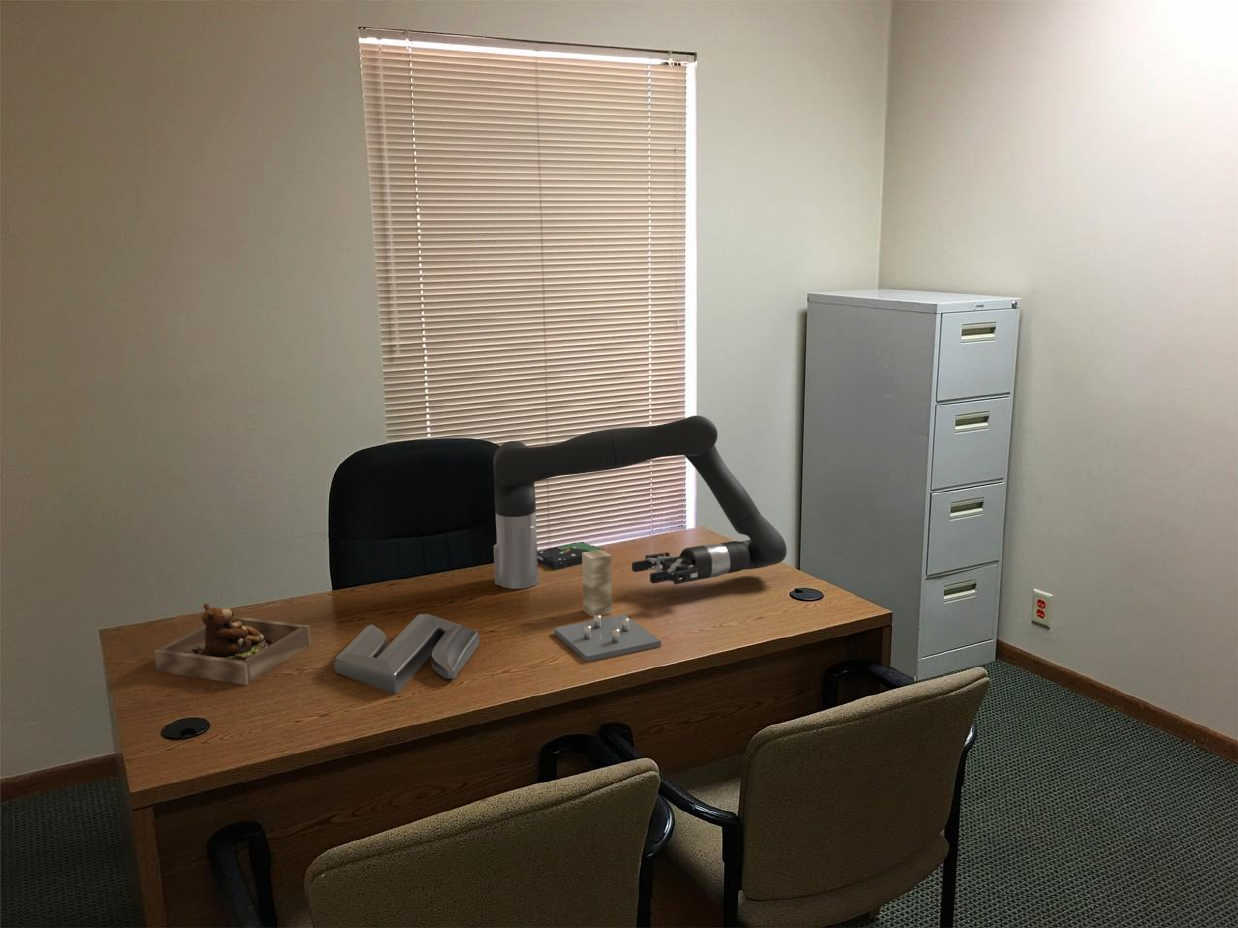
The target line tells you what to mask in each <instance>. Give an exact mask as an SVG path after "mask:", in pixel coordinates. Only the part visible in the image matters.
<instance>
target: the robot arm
mask: <svg viewBox="0 0 1238 928" xmlns="http://www.w3.org/2000/svg"><path fill="white" fill-rule="evenodd" d="M717 441H718V429H717V427H716V425H715V424H714V423H713V421H711V419H709V418H707V417H706V416H705V417H704V416H702V415H690V416H687V417H686V418H682V419H679V420H676V421H670V422H667V423H663V424H657V425H648V426H629V427H628V426H627V427H620V428H619V427H617V428H616V427H615V428H609V429H601V430H595V431H590V432H587V433H582V434H580V435H578V436H575V437H572V438H569V439H566V440H564V441H561V442H559V443H555V444H551V445H544V446H533V447H532V446H531V447H530V446H529V447H528V445H526V444H525V443H524V442H520V441H517V440H510V441H506V442H504V443H502V444H501V445H500V446H499V447H498V448H497V449H496V451H495V452H494V456H493V478H494V479H493V480H494V482H493V483H494V484H493V485H494V505H495V506H494V507H495V526H496V529H495V531H496V543H495V544H494V545H493V559H494V561H493V565H494V584H495V585H496V586H500V587H502V588H505V589H510V590H520V589H521V590H522V589H527V588H531V587H534V586H536V585H537V584H539V569H538V567H539V566H538V565H539V564H538V563H539V562H538V560H537V551H538V541H537V539H538V536H537V534H538V533H537V532H538V531H537V512H536V511H537V507H536V487H535V483H536V482H540V481H544V480H549V479H551V478H555V477H561V476H574V475H583V474H589V473H598V472H605V471H611V470H617V469H621V468H626V467H630V466H635V465H638V464H642V463H645V462H648V461H652V460H654V459H658V458H665V457H677V456H684V457H685V459H687V460H688V461H689V462H690V464H691V465H692V466H693V467H694V468H695V470H696V471H697V472H698V474H699V475H700V476H701V478H702V479H703V481H704V482H705V483H706V484H707V486H708V488H709V489H710V491H711V493H712V494H713V496H714V498H715V499H716V501H717V503H718V505H719V507H720V508H721V509H722V511H723V514H725V516H726V518H727V519H728V521H729V522H730V524H731V525H732V527H733V528H734V530H735V531H736V532H737V533H738V534H739V535H742V536H743V535H745V536H747V537H748V538H749V539H747V540H741V541H740V540H739V541H738V540H737V541H736V540H735V541H734V540H733V541H727V542H719V543H708V544H702V545H697V546H695V545H694V546H690V547H685V548H683V549H682V551H680V552H681V553H680V554H679V555H678V556H677V555H670V553H671V552H668V551H666V552H661V553H654V554H647V555H645V556H644V557H645V558H644V559H643V560H636V561H633V562H632V563H631V571H632V572H634V573H638V572H644V571H650V570H651V571H655V572H651V573H650V574H649V582H650V583H651V584H658V583H664V582H667V583H673V585H679V584H684V583H685V584H686V583H689V582H694V581H701V580H707V579H712V578H716V577H720V576H723V575H727V574H732V573H738V572H741V571H744V570H745V571H747V570H755V569H761V568H766V567H770V566H774V565H777V564H780V563H782V562H784V560H785V559H786V556H787V551H788V550H787V549H788V547H787V545H786V542H785V539H784V538H783V536H782V535H781V533H780V532H779V531H778V530H777V529H776V528H775V526H773V525H772V524H771V523H770V522H769V521H768V520H767V519H766V518H765V517H764V516H763V515H762V514H761V512H760V510H759V509H758V507H757V506H756V504H755V502H754V501H753V499H752V498H751V496H750V495H749V492H748V491H747V490H746V489H745V488H744V486H743V485H742V484H741V483H740V481H739V480H738V479H737V477H735V475H734V474H733V473H732V472H731V470H729V468H728V467H727V465H726V464H725V462H724V460H723V459H722V457H721V455H720V453H719V451H718V450H717V447H716V443H717ZM661 566H662V567H661Z"/></svg>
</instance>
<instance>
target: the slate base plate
mask: <svg viewBox="0 0 1238 928" xmlns="http://www.w3.org/2000/svg"><path fill="white" fill-rule="evenodd" d="M553 634H554V635H555V636H556V637H558V639H560V641H562V642H563V643H564V644H565V645H566V646H567V647H569V648H570V649H571V650H572V651H573V652H575V653H576V654H577V655H578V656H579V657H580V658H582V660H584V661H585V663H591V662H595V661H599V660H604V659H610V658H614V657H618V656H623V655H628V654H632V653H638V652H641V651H647V650H651V649H655V648H660V647H662V640H661V639H659V638H658V637H656V635H654V634H652V633H651V632H650V631H648V630H647V629H645V628H644V627H643V626H641V625H639V624H638V622H636V621H634V620H633V619H631V618H630V617H629V616H628V615H626V614H619V615H614V616H609V617H604V618H602V615H600V614H596V615H594V617H593V619H592V620H589V621H588V620H587V621H583V622H579V623H572V624H568V625H567V624H566V625H561V626H558V627H554V628H553ZM646 649H647V650H646Z"/></svg>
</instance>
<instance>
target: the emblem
mask: <svg viewBox="0 0 1238 928" xmlns="http://www.w3.org/2000/svg"><path fill="white" fill-rule="evenodd" d="M387 640H388V639H387V636H386V634H385V633H384V631H383V630H382V629H380V628H378V627H377V626H375V625H374V624H370V625H367V626H366V627H364V628H363V629H362V631H361V632H360V633H359V634H357V636H356V637H355V638H354V639H353V640H352V641H351V642H350V643H349V644H348V645H347V646H346V647H345V648H344V649H343V650H342V651H341V652H340V653H339V654H337V656H336V657H335V658H334V669H335V672H336V673H337V674H339V675H342V676H344V677H346V678H350V679H351V680H355V681H357V682H359V683H362V684H364V685H366V686H370V687H373V688H374V689H378V690H381V691H384V692H387V693H390V694H394V695H397V694H398V693H400V691H402V689H403V688H404V687H405V686H406V684H407V683H408V682H409V681H410V680H411V679H412V678H413V676H414V675H416V673H418V671H419V670H420V669H421V668H422V666H423V665H424V664H425V663H426V661H427V660H429V658H430V659H431V660H430V661H431V666H432V669H433V670H434V671H435V672H436V673H437V674H438V675H440V677H442V678H444V679H447V680H448V679H455V678H456V677H457V675H458V674H459V672H460V671H461V669H462V668H463V667H464V666H465V664H466V663H467V662H468V660H469V659H470V657H472V656H473V654H474V652H475V650H476V649H477V648H478V647H479V645H480V634H479V632H478V631H477V630H475V629H471V628H468V627H466V626H465V625H462V624H459V623H456V622H453V621H451V620H447V619H444V618H441V617H438V616H436V615H432V614H429V613H425V614H422V613H419V614H417V615H416V616H415V617H414V619H413V620H411V621H410V623H408V625H406V627H404V629H403V630H402V631H401V632H400V633H399V634H398V635H397V636H396V637H395V638H394V639H393V640H392V641H391V642H390V643H389V644H388V641H387Z"/></svg>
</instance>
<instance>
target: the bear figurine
mask: <svg viewBox="0 0 1238 928" xmlns="http://www.w3.org/2000/svg"><path fill="white" fill-rule="evenodd" d="M203 608H204V610H205V611H204V612H203V614H202V615H201V620H202V623H203V625H206V629H205V647H203V646H202V647H197V646H196V647H197V648H194V649H191V651H192V652H193V653H192V654H197V655H204V656H211V657H218V658H225V659H231V660H238V661H244V660H246V659H248V658H250V657H251V656H253V655H255V654H256V653H258V652H260V651H261V650H263V649H265V648H266V647H268V646H269V644H268V643H267V641H264V636H263V635H262V634H261V633H260V632H258V631H257V630H255V629H253V628H252V627H250V626H242V623H241V622H240V621H236V619H235V617H233V616H235V612H233V611H232V609H231V607H227V608H223V609H221V608H220V607H216V606H214V607H210V605H209V604H208V603H204V604H203Z"/></svg>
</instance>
